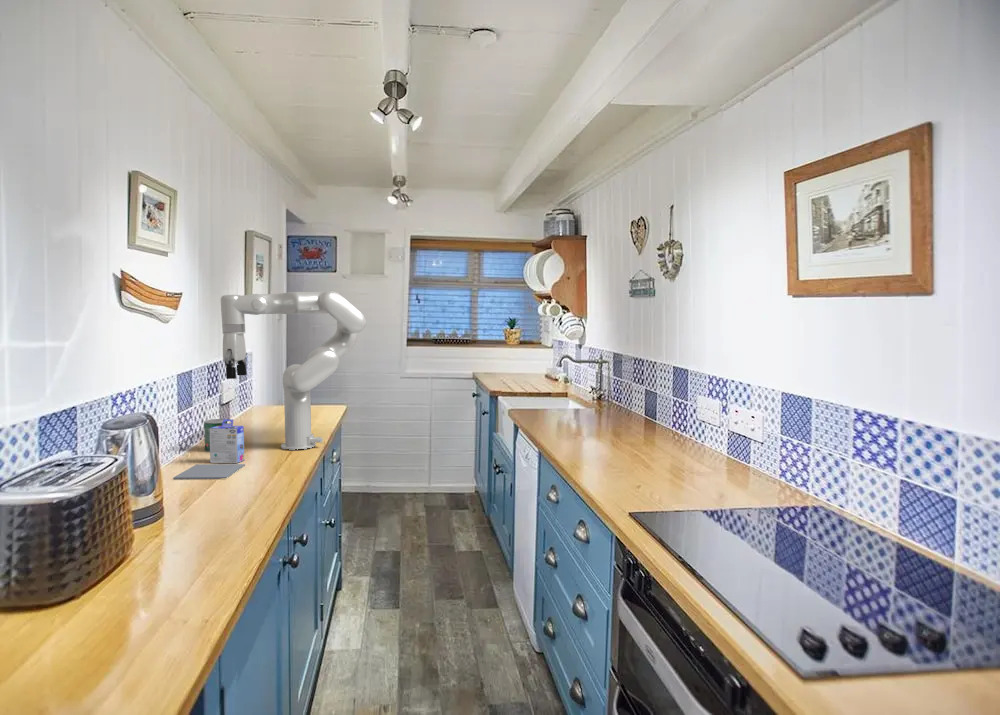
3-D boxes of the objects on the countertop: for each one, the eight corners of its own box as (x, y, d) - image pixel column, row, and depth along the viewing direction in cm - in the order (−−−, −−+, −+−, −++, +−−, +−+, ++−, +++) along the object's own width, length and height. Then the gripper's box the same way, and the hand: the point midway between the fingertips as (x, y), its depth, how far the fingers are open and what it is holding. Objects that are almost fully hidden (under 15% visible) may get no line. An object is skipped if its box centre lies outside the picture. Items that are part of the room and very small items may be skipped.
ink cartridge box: (245, 459, 215) (244, 418, 214) (238, 463, 209) (237, 421, 208) (217, 459, 215) (216, 418, 214) (209, 463, 210) (208, 421, 208)
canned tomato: (222, 452, 226) (221, 422, 225) (200, 452, 226) (199, 422, 225) (231, 447, 234) (231, 418, 233) (211, 447, 234) (210, 418, 233)
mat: (245, 465, 207) (245, 464, 207) (226, 479, 191) (226, 477, 191) (196, 466, 206) (196, 464, 206) (173, 479, 190) (173, 477, 190)
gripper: (232, 328, 229) (235, 374, 230) (213, 330, 212) (216, 380, 213) (253, 328, 229) (255, 373, 231) (235, 330, 212) (238, 379, 213)
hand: (236, 376), depth 222 cm, fingers open, 9 cm apart
